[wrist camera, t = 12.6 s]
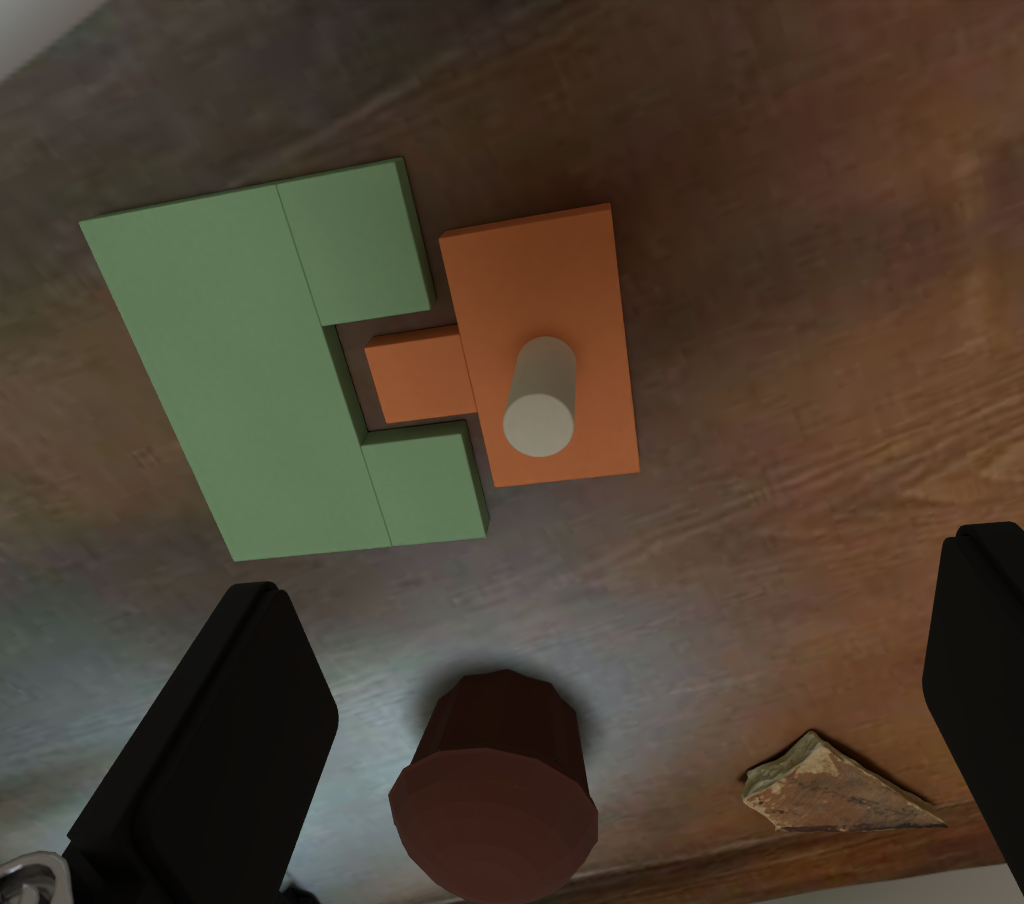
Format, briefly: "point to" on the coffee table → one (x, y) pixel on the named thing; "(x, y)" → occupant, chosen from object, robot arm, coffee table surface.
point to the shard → (831, 794)
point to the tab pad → (500, 320)
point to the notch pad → (289, 359)
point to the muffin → (497, 792)
